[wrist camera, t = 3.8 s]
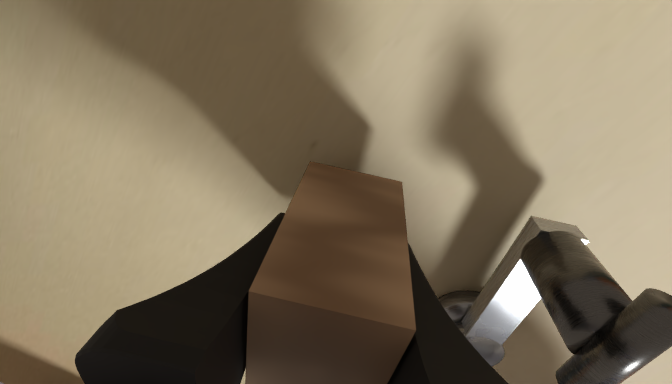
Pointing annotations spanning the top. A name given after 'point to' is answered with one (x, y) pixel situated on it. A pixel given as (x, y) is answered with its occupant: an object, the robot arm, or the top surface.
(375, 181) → the block
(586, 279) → the crank
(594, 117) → the top surface
